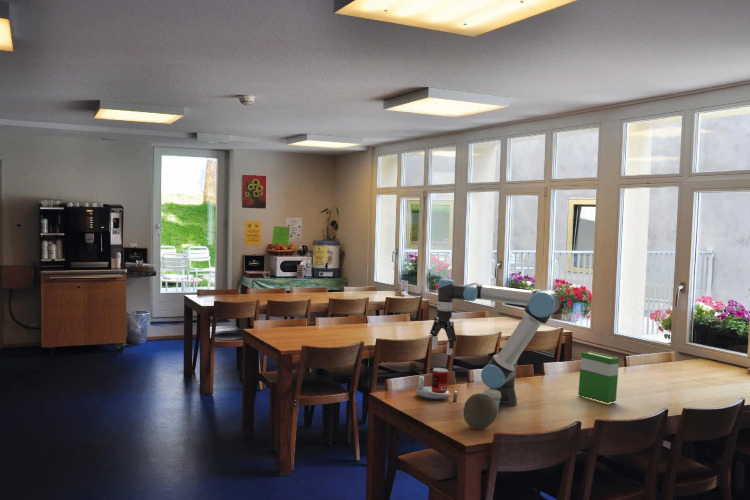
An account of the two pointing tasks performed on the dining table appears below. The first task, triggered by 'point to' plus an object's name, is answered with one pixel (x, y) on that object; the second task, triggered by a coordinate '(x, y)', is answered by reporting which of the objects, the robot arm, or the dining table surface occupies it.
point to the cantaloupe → (480, 411)
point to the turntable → (430, 391)
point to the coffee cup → (493, 396)
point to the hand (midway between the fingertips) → (441, 351)
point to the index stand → (441, 399)
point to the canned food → (439, 380)
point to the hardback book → (598, 376)
